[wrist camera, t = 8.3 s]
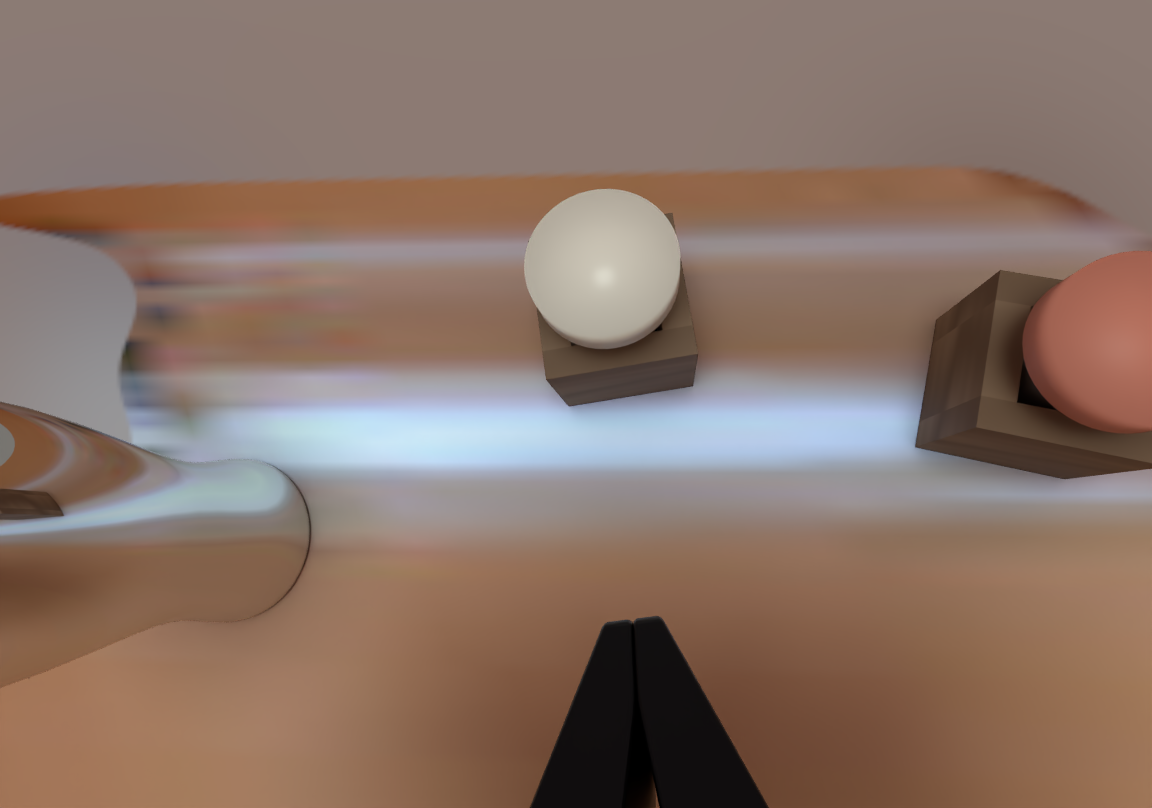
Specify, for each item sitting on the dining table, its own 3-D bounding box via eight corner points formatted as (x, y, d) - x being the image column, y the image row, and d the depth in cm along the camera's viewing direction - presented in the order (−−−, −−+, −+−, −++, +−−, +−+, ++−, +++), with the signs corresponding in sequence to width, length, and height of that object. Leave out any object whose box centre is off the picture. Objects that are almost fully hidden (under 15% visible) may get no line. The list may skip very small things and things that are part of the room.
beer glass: (319, 437, 25) (-187, 307, 10) (325, 623, 23) (-254, 783, 9) (158, 461, 26) (-523, 374, 11) (155, 641, 24) (-634, 817, 10)
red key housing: (1064, 479, 21) (1168, 466, 16) (915, 447, 21) (976, 427, 17) (1082, 345, 21) (1186, 300, 17) (936, 319, 22) (1000, 270, 18)
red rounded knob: (1094, 466, 19) (1248, 444, 14) (944, 435, 20) (1038, 404, 15) (1110, 334, 20) (1263, 267, 15) (964, 309, 20) (1062, 237, 15)
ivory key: (687, 369, 21) (692, 321, 16) (565, 390, 22) (534, 349, 17) (667, 255, 22) (666, 175, 17) (550, 277, 23) (515, 205, 18)
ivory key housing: (692, 386, 23) (697, 353, 19) (568, 406, 23) (546, 379, 19) (671, 268, 24) (672, 212, 20) (552, 290, 24) (527, 241, 20)
